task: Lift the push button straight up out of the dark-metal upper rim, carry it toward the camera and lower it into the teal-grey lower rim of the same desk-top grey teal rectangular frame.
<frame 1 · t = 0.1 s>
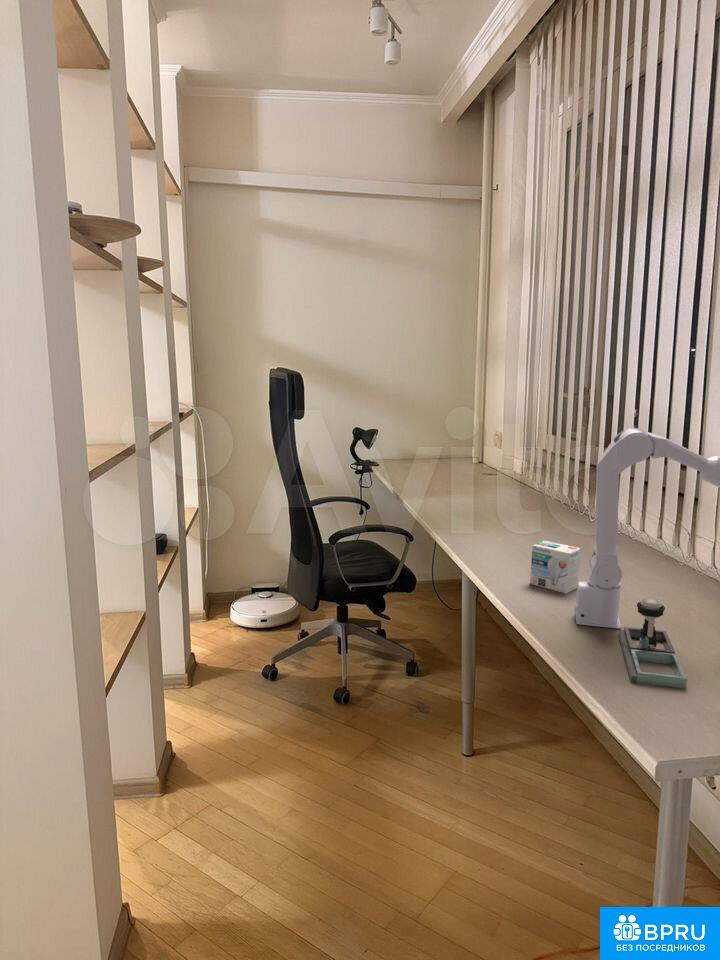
grey teal rectangular frame: (651, 660, 139), on the table
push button: (647, 649, 145), resting in grey teal rectangular frame
light bulb box: (553, 586, 182), on the table
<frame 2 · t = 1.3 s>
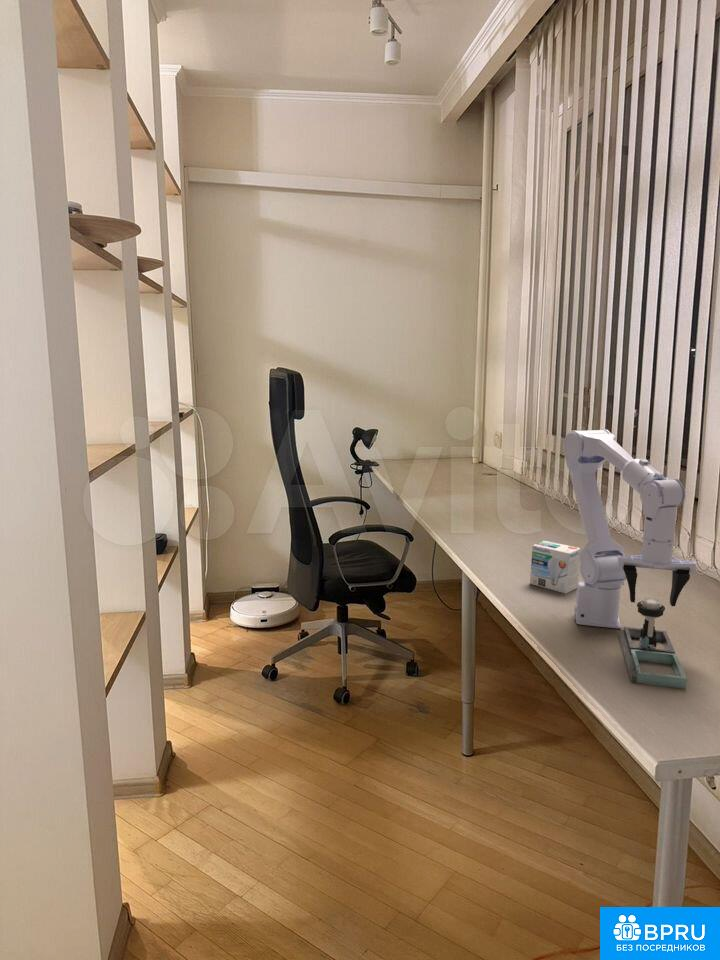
hand: (652, 602, 143), 10 cm above the table, tool pointing down, fingers open, 7 cm apart
nothing on the table moved.
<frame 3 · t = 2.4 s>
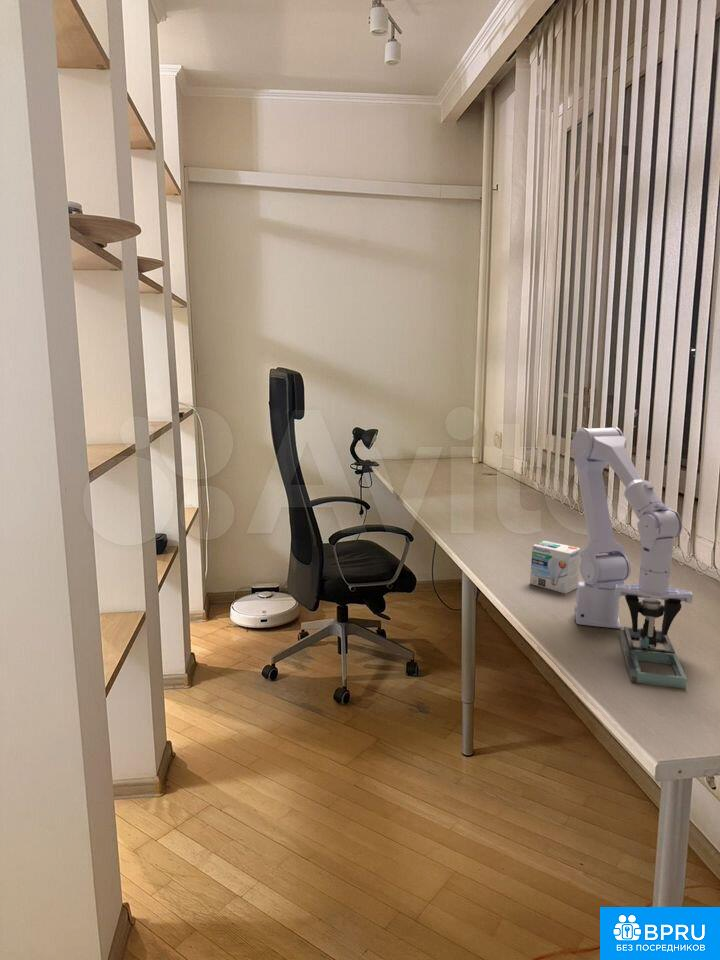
hand: (649, 631, 144), 4 cm above the table, tool pointing down, fingers closed on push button, 5 cm apart
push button: (647, 649, 145), resting in grey teal rectangular frame, touching gripper
everything else where it was.
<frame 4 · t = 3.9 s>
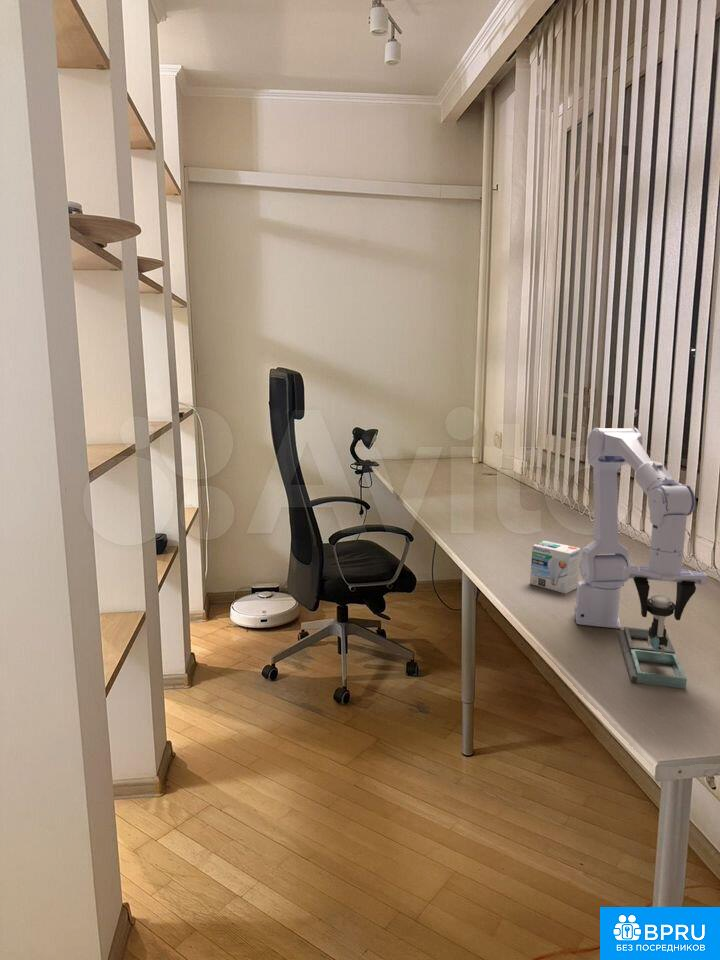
hand: (660, 616, 134), 11 cm above the table, tool pointing down, fingers closed on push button, 5 cm apart
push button: (657, 648, 136), point 4 cm above the table, touching gripper
everything else where it was.
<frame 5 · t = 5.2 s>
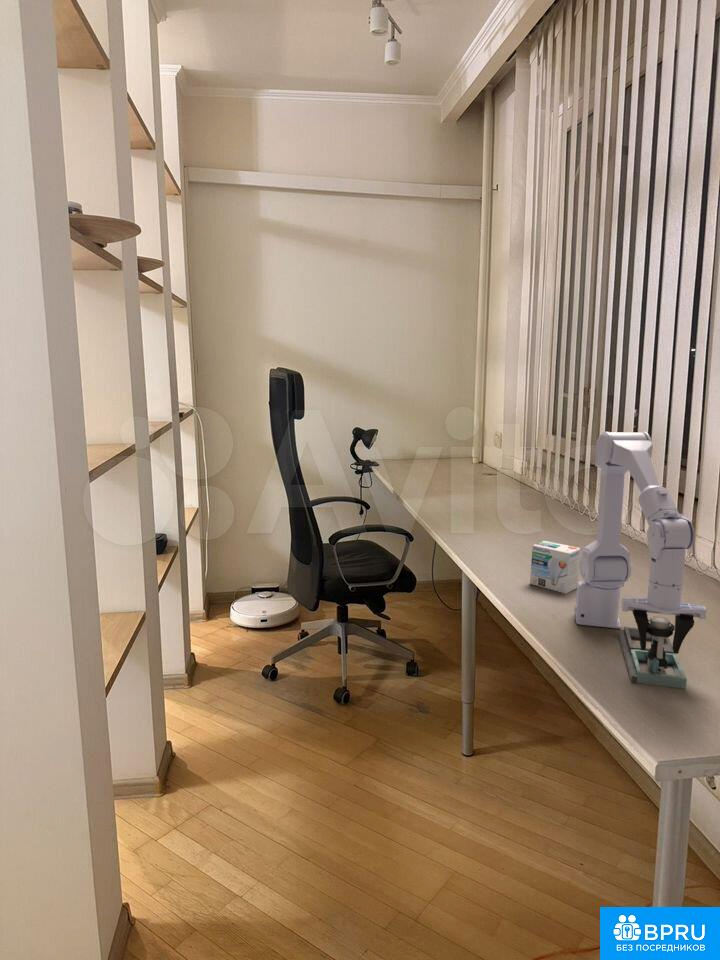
hand: (658, 649, 133), 5 cm above the table, tool pointing down, fingers closed on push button, 5 cm apart
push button: (656, 671, 135), resting in grey teal rectangular frame, touching gripper
everything else where it was.
when the fingers open (5 cm above the table, at t = 5.7 s): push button stays where it is, resting in grey teal rectangular frame.
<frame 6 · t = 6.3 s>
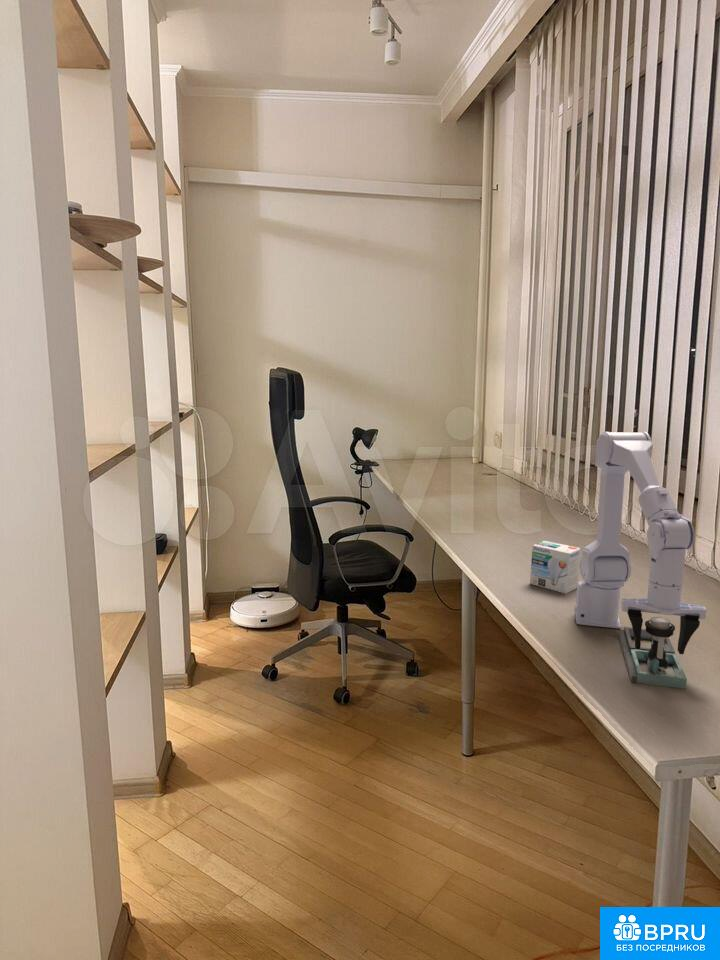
hand: (658, 649, 133), 5 cm above the table, tool pointing down, fingers open, 7 cm apart
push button: (656, 671, 135), resting in grey teal rectangular frame
everything else where it was.
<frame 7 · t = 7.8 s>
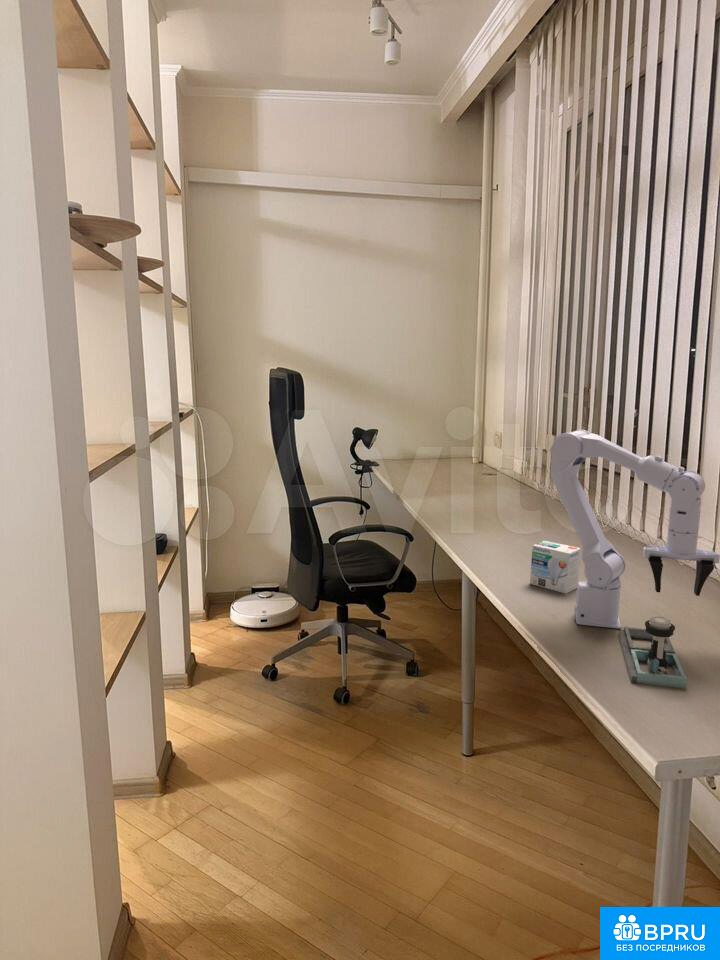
hand: (677, 592, 148), 10 cm above the table, tool pointing down, fingers open, 7 cm apart
nothing on the table moved.
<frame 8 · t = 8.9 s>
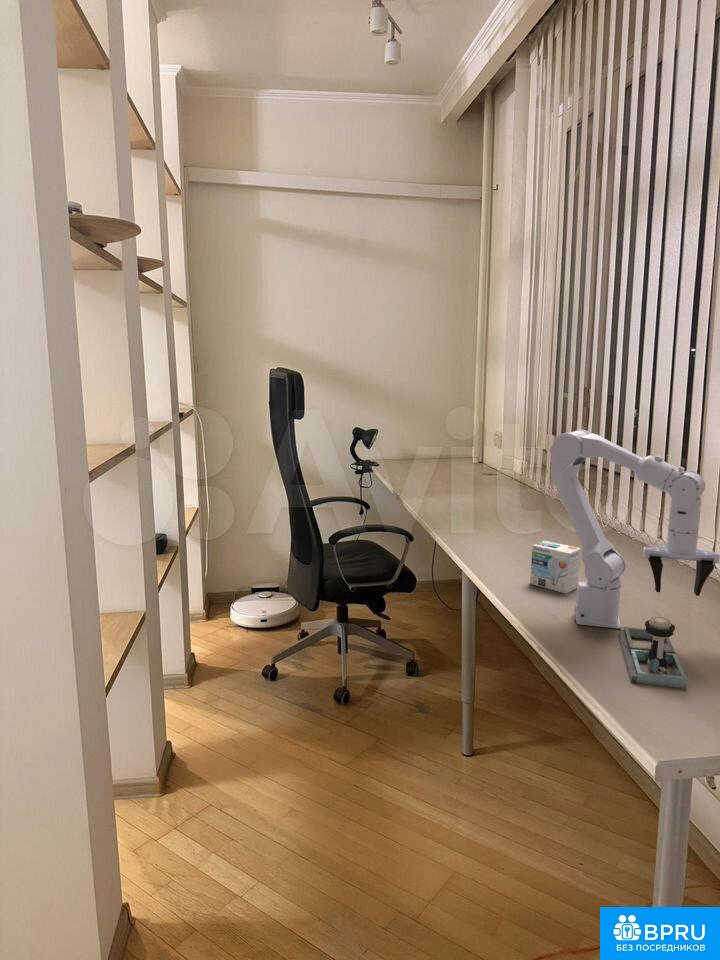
hand: (677, 592, 148), 10 cm above the table, tool pointing down, fingers open, 7 cm apart
nothing on the table moved.
at the end: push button 1.2 cm from the target spot on the grey teal rectangular frame, point 0.0 cm above the grey teal rectangular frame's base; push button tilted 0°; the gripper is holding nothing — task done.
